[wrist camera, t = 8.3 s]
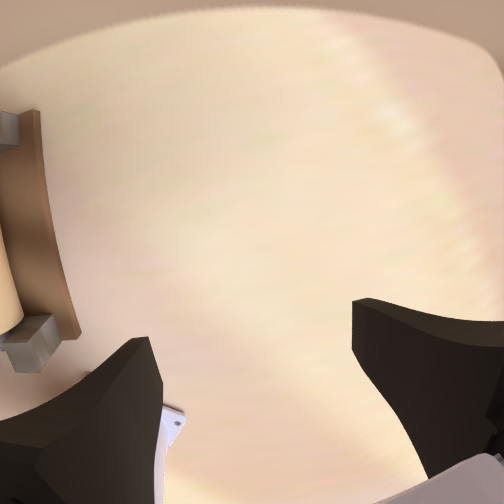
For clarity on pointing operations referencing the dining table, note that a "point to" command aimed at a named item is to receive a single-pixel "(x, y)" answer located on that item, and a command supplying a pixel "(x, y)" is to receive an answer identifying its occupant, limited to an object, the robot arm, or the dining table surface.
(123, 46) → the dining table surface
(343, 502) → the dining table surface
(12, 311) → the paper roll
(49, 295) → the roll holder
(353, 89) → the dining table surface
